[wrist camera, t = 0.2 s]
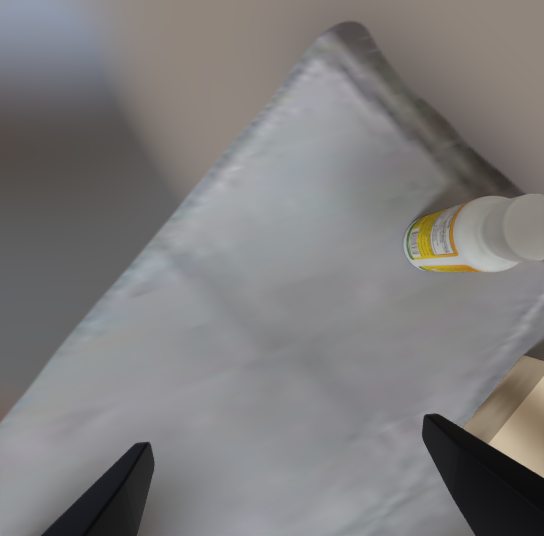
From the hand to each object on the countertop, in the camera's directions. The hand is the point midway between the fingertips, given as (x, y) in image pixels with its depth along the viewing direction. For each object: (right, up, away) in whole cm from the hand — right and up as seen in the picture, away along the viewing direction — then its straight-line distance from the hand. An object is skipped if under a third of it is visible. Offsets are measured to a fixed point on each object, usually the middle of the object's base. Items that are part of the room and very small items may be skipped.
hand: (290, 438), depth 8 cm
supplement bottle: (+14, +8, +16) cm, 23 cm away
